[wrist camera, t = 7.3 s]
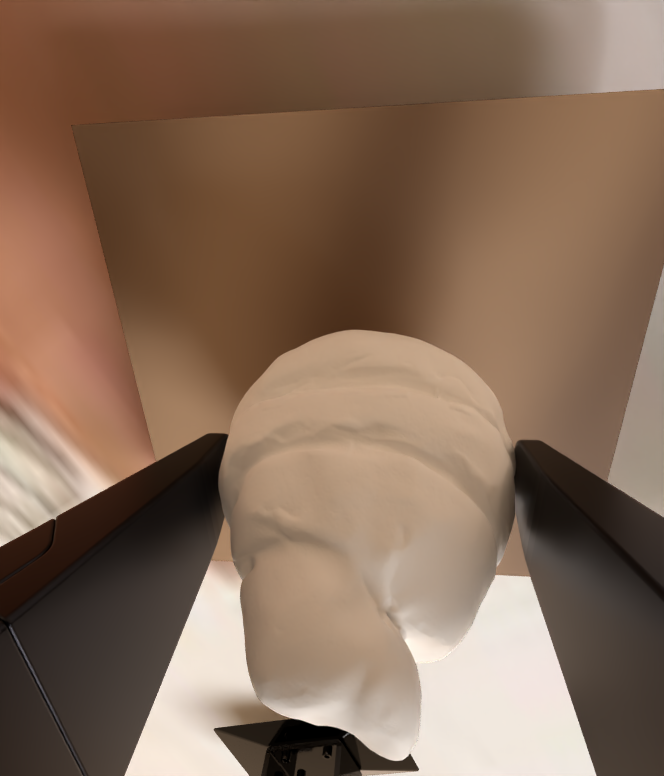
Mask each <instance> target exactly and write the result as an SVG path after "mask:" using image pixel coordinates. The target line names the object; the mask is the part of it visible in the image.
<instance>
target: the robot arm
mask: <svg viewBox="0 0 664 776" xmlns="http://www.w3.org/2000/svg"><path fill="white" fill-rule="evenodd" d="M228 436H229V435H228V434H226V433H208V434H206V435H204V436H202V437H200V438H198V439H197V440H195V441H193V442H191V443H189V444H187V445H186V446H184V447H182V448H180V449H178V450H177V451H175V452H173V453H171V454H169V455H167V456H166V457H164V458H162V459H160V460H158V461H157V462H155V463H153V464H151V465H149V466H147V467H146V468H144V469H142V470H140V471H138V472H137V473H135V474H133V475H131V476H129V477H128V478H126V479H124V480H122V481H120V482H118V483H117V484H115V485H113V486H111V487H109V488H108V489H106V490H104V491H102V492H100V493H98V494H97V495H95V496H93V497H91V498H89V499H88V500H86V501H84V502H82V503H80V504H78V505H77V506H75V507H73V508H71V509H69V510H68V511H66V512H64V513H62V514H60V515H58V516H57V517H56V520H55V519H51V520H49V521H47V522H46V523H44V524H42V525H40V526H38V527H37V528H35V529H33V530H31V531H29V532H27V533H25V534H24V535H22V536H20V537H18V538H16V539H14V540H12V541H10V542H9V543H7V544H5V545H3V546H1V547H0V776H124V775H125V773H126V770H127V768H128V765H129V763H130V760H131V758H132V755H133V753H134V750H135V748H136V745H137V743H138V741H139V738H140V736H141V733H142V731H143V728H144V726H145V723H146V721H147V718H148V716H149V713H150V711H151V708H152V706H153V703H154V701H155V698H156V696H157V693H158V691H159V688H160V686H161V683H162V681H163V678H164V676H165V673H166V671H167V668H168V666H169V663H170V661H171V658H172V656H173V653H174V651H175V648H176V646H177V644H178V641H179V639H180V636H181V634H182V631H183V629H184V626H185V624H186V621H187V619H188V616H189V614H190V611H191V609H192V606H193V604H194V601H195V599H196V596H197V594H198V591H199V589H200V586H201V584H202V581H203V579H204V576H205V574H206V571H207V569H208V566H209V564H210V561H211V559H212V556H213V554H214V551H215V548H216V546H217V543H218V539H219V536H220V533H221V529H222V525H223V521H224V518H225V516H224V513H223V509H222V503H221V498H220V494H219V487H218V477H219V469H220V465H221V462H222V458H223V455H224V451H225V447H226V442H227V439H228ZM514 452H515V458H516V472H515V476H514V483H515V513H516V518H517V523H518V528H519V533H520V538H521V543H522V548H523V552H524V557H525V561H526V564H527V568H528V571H529V574H530V577H531V580H532V583H533V586H534V589H535V592H536V595H537V598H538V601H539V604H540V607H541V610H542V613H543V616H544V619H545V622H546V625H547V628H548V631H549V634H550V637H551V640H552V643H553V646H554V649H555V652H556V655H557V658H558V661H559V664H560V667H561V670H562V673H563V676H564V679H565V682H566V685H567V688H568V691H569V694H570V697H571V700H572V703H573V706H574V709H575V712H576V715H577V718H578V721H579V724H580V727H581V730H582V733H583V736H584V739H585V742H586V745H587V748H588V751H589V754H590V757H591V760H592V763H593V766H594V769H595V772H596V775H597V776H664V517H662V516H660V515H659V514H657V513H656V512H654V511H652V510H651V509H649V508H648V507H646V506H645V505H643V504H641V503H640V502H638V501H637V500H635V499H633V498H632V497H630V496H629V495H627V494H625V493H624V492H622V491H621V490H619V489H617V488H616V487H614V486H613V485H611V484H609V483H608V482H606V481H605V480H603V479H601V478H600V477H598V476H597V475H595V474H594V473H592V472H590V471H589V470H587V469H586V468H584V467H582V466H581V465H579V464H578V463H576V462H574V461H573V460H571V459H570V458H568V457H566V456H565V455H563V454H562V453H560V452H558V451H557V450H555V449H554V448H552V447H551V446H549V445H547V444H546V443H544V442H542V441H541V440H518V441H517V442H516V444H515V448H514Z"/></svg>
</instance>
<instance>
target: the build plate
mask: <svg viewBox="0 0 664 776" xmlns="http://www.w3.org/2000/svg"><path fill="white" fill-rule="evenodd" d="M214 731H215V733H216V734H217V735H218V736H219V738H220V739H221V740H222V741H223V743H224V744H225V745H226V746H227V748H228V749H229V750H230V752H231V753H232V754H233V755H234V757H235V758H236V759H237V760H238V762H239V763H240V764H241V765H242V767H243V768H244V769H245V771H246V772H247V773H248V774H249V776H368V775H380V774H391V773H403V772H414V771H418V770H419V768H418V767H417V765H416V763H415V761H414V760H413V758H412V756H411V754H409V755H408V756H407V757H406V758H405V759H404V760H400V761H393V760H389V759H386V758H384V757H382V756H380V755H378V754H377V753H375V752H373V751H372V750H370V749H369V748H368V747H367V746H365V745H364V744H363V743H362V742H361V741H360V740H359V739H358V738H357V737H356V736H354V735H353V734H351V733H349V732H347V731H345V730H342V729H339V728H336V727H331V726H317V725H313V724H311V723H308V722H305V721H302V720H298V719H288V720H280V721H272V722H263V723H255V724H247V725H238V726H230V727H221V728H215V729H214Z"/></svg>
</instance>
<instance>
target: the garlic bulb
mask: <svg viewBox="0 0 664 776" xmlns="http://www.w3.org/2000/svg"><path fill="white" fill-rule="evenodd" d="M515 472H516V458H515V452H514V448H513V444H512V441H511V439H510V437H509V435H508V433H507V431H506V428H505V424H504V420H503V413H502V410H501V407H500V404H499V402H498V400H497V398H496V396H495V394H494V393H493V392H492V390H491V389H490V388H489V387H488V386H487V384H486V383H485V382H484V381H483V380H482V379H481V378H480V377H479V376H478V375H477V374H476V373H475V372H474V371H473V370H472V369H471V368H470V367H469V366H468V365H467V364H465V363H464V362H462V361H461V360H460V359H458V358H457V357H455V356H454V355H452V354H450V353H447V352H445V351H444V350H442V349H440V348H438V347H435V346H433V345H431V344H429V343H427V342H424V341H422V340H419V339H416V338H412V337H408V336H404V335H399V334H394V333H384V332H377V331H368V330H345V331H340V332H335V333H331V334H327V335H324V336H321V337H319V338H316V339H313V340H311V341H309V342H307V343H305V344H303V345H301V346H300V347H298V348H295V349H293V350H290V351H288V352H286V353H284V354H282V355H281V356H279V357H278V358H277V359H276V360H275V361H274V362H273V363H272V364H271V365H270V366H269V367H268V369H267V370H266V371H265V372H264V373H263V375H262V376H261V377H260V378H259V379H258V380H257V381H256V382H255V383H254V384H253V385H252V386H251V387H250V389H249V390H248V391H247V392H246V394H245V395H244V397H243V398H242V400H241V401H240V403H239V405H238V407H237V409H236V411H235V413H234V416H233V419H232V423H231V427H230V433H229V436H228V439H227V442H226V447H225V451H224V455H223V458H222V462H221V465H220V469H219V477H218V487H219V494H220V498H221V503H222V509H223V513H224V516H225V519H226V521H227V523H228V526H229V528H230V545H231V554H232V559H233V562H234V565H235V567H236V569H237V571H238V573H239V575H240V577H241V579H242V580H243V581H242V584H241V590H240V601H241V608H242V615H243V626H244V635H245V651H246V660H247V666H248V671H249V676H250V679H251V682H252V685H253V688H254V691H255V693H256V695H257V697H258V698H259V700H260V701H261V702H262V703H263V704H264V705H266V706H267V707H269V708H270V709H271V710H273V711H275V712H276V713H278V714H281V715H283V716H286V717H289V718H293V719H298V720H302V721H305V722H308V723H311V724H313V725H317V726H331V727H336V728H339V729H342V730H345V731H347V732H349V733H351V734H353V735H354V736H356V737H357V738H358V739H359V740H360V741H361V742H362V743H363V744H364V745H365V746H367V747H368V748H369V749H370V750H372V751H373V752H375V753H377V754H378V755H380V756H382V757H384V758H386V759H389V760H393V761H400V760H404V759H405V758H406V757H407V756H408V755H409V754H410V752H411V751H412V749H413V748H414V747H415V745H416V743H417V741H418V736H419V729H420V715H421V686H420V679H419V675H418V670H417V666H416V663H430V662H436V661H439V660H441V659H443V658H444V657H446V656H447V655H448V654H450V653H451V652H452V651H453V650H454V649H455V648H456V647H457V646H458V645H459V644H460V643H461V641H462V640H463V638H464V637H465V635H466V634H467V632H468V631H469V629H470V627H471V626H472V624H473V621H474V619H475V617H476V614H477V612H478V609H479V607H480V605H481V603H482V601H483V599H484V598H485V596H486V594H487V591H488V589H489V587H490V585H491V584H492V582H493V580H494V578H495V574H496V569H497V566H498V564H499V563H500V561H501V560H502V558H503V555H504V552H505V549H506V546H507V543H508V540H509V537H510V534H511V530H512V527H513V522H514V518H515V483H514V476H515Z"/></svg>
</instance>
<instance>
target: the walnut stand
mask: <svg viewBox="0 0 664 776" xmlns="http://www.w3.org/2000/svg"><path fill="white" fill-rule="evenodd" d="M71 126H72V130H73V134H74V138H75V142H76V146H77V150H78V154H79V158H80V162H81V166H82V170H83V174H84V178H85V182H86V186H87V190H88V194H89V198H90V201H91V205H92V209H93V213H94V217H95V221H96V225H97V229H98V233H99V237H100V241H101V245H102V249H103V253H104V257H105V261H106V265H107V269H108V273H109V277H110V281H111V285H112V289H113V293H114V296H115V300H116V304H117V308H118V312H119V316H120V320H121V324H122V328H123V332H124V336H125V340H126V344H127V348H128V352H129V356H130V360H131V364H132V368H133V372H134V376H135V380H136V384H137V388H138V392H139V395H140V399H141V403H142V407H143V411H144V415H145V419H146V423H147V427H148V431H149V435H150V439H151V443H152V447H153V451H154V455H155V459H156V462H157V461H158V460H160V459H162V458H164V457H166V456H167V455H169V454H171V453H173V452H175V451H177V450H178V449H180V448H182V447H184V446H186V445H187V444H189V443H191V442H193V441H195V440H197V439H198V438H200V437H202V436H204V435H206V434H208V433H226V434H228V435H229V433H230V427H231V423H232V419H233V416H234V413H235V411H236V409H237V407H238V405H239V403H240V401H241V400H242V398H243V397H244V395H245V394H246V392H247V391H248V390H249V389H250V387H251V386H252V385H253V384H254V383H255V382H256V381H257V380H258V379H259V378H260V377H261V376H262V375H263V373H264V372H265V371H266V370H267V369H268V367H269V366H270V365H271V364H272V363H273V362H274V361H275V360H276V359H277V358H278V357H279V356H281V355H282V354H284V353H286V352H288V351H290V350H293V349H295V348H298V347H300V346H301V345H303V344H305V343H307V342H309V341H311V340H313V339H316V338H319V337H321V336H324V335H327V334H331V333H335V332H340V331H345V330H368V331H377V332H384V333H394V334H399V335H404V336H408V337H412V338H416V339H419V340H422V341H424V342H427V343H429V344H431V345H433V346H435V347H438V348H440V349H442V350H444V351H445V352H447V353H450V354H452V355H454V356H455V357H457V358H458V359H460V360H461V361H462V362H464V363H465V364H467V365H468V366H469V367H470V368H471V369H472V370H473V371H474V372H475V373H476V374H477V375H478V376H479V377H480V378H481V379H482V380H483V381H484V382H485V383H486V384H487V386H488V387H489V388H490V389H491V390H492V392H493V393H494V394H495V396H496V398H497V400H498V402H499V404H500V407H501V410H502V413H503V420H504V424H505V428H506V431H507V433H508V435H509V437H510V439H511V441H512V444H513V448H515V444H516V442H517V441H518V440H541V441H542V442H544V443H546V444H547V445H549V446H551V447H552V448H554V449H555V450H557V451H558V452H560V453H562V454H563V455H565V456H566V457H568V458H570V459H571V460H573V461H574V462H576V463H578V464H579V465H581V466H582V467H584V468H586V469H587V470H589V471H590V472H592V473H594V474H595V475H597V476H598V477H600V478H601V479H603V480H605V481H606V482H607V479H608V475H609V472H610V468H611V464H612V460H613V456H614V453H615V449H616V445H617V441H618V437H619V433H620V430H621V426H622V422H623V418H624V414H625V411H626V407H627V403H628V399H629V395H630V392H631V388H632V384H633V380H634V376H635V372H636V369H637V365H638V361H639V357H640V353H641V350H642V346H643V342H644V338H645V334H646V330H647V327H648V323H649V319H650V315H651V311H652V308H653V304H654V300H655V296H656V292H657V289H658V285H659V281H660V277H661V273H662V269H663V266H664V89H656V90H640V91H624V92H607V93H591V94H574V95H558V96H541V97H525V98H509V99H492V100H476V101H459V102H443V103H426V104H410V105H394V106H377V107H361V108H344V109H328V110H311V111H295V112H279V113H262V114H246V115H229V116H213V117H196V118H180V119H164V120H147V121H131V122H114V123H98V124H82V125H71ZM211 560H212V561H231V562H233V559H232V554H231V545H230V528H229V526H228V523H227V521H226V519H225V518H224V521H223V525H222V529H221V533H220V536H219V539H218V543H217V546H216V548H215V551H214V554H213V556H212V559H211ZM495 575H509V576H529V577H530V574H529V571H528V568H527V564H526V561H525V557H524V552H523V548H522V543H521V538H520V533H519V528H518V523H517V518H516V513H515V518H514V522H513V527H512V530H511V534H510V537H509V540H508V543H507V546H506V549H505V552H504V555H503V558H502V560H501V561H500V563H499V564H498V566H497V569H496V574H495Z"/></svg>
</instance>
